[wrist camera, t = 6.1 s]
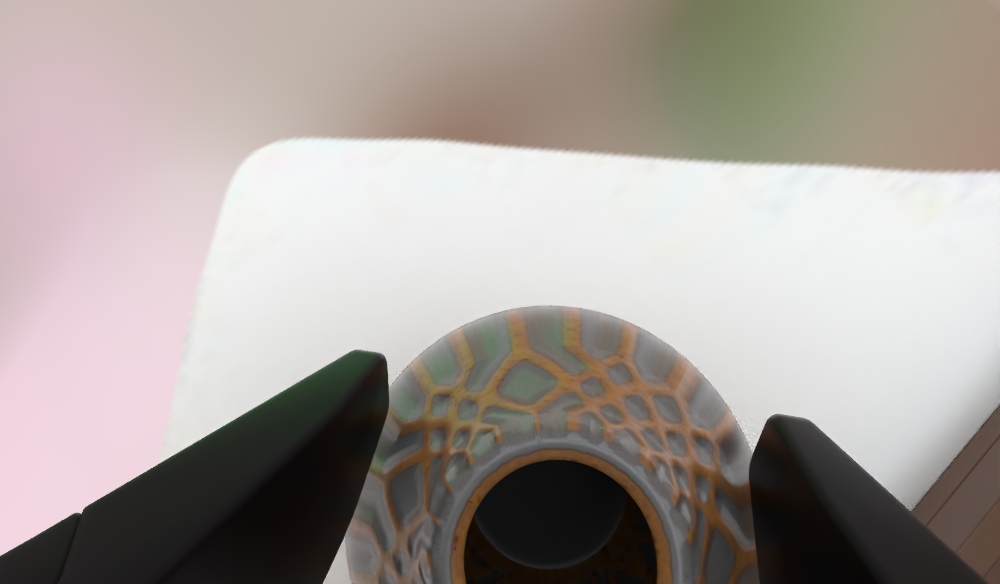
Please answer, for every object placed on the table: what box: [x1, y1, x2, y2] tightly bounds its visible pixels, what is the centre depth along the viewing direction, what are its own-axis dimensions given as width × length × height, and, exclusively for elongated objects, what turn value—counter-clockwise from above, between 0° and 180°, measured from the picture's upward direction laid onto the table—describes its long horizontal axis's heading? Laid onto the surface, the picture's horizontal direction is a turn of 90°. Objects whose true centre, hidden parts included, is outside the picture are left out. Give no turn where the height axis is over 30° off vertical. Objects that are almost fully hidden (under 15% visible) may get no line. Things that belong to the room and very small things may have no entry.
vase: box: [345, 306, 760, 584], centre depth 9 cm, size 7×7×9 cm
